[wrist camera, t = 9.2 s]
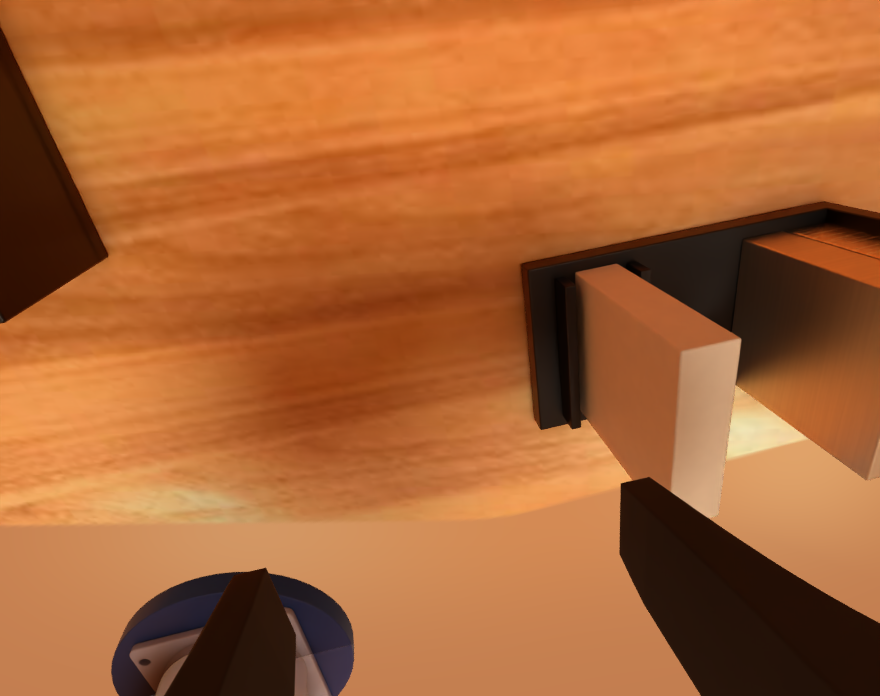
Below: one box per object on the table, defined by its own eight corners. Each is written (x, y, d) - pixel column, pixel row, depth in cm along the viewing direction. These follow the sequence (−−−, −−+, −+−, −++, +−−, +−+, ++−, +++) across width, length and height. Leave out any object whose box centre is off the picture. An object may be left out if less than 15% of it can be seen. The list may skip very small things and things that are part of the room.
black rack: (824, 201, 19) (1066, 251, 13) (794, 360, 22) (975, 465, 16) (520, 263, 18) (614, 351, 12) (534, 419, 21) (614, 556, 15)
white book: (616, 262, 18) (742, 338, 12) (616, 401, 21) (719, 516, 15) (574, 271, 18) (681, 352, 12) (579, 410, 21) (668, 529, 15)
